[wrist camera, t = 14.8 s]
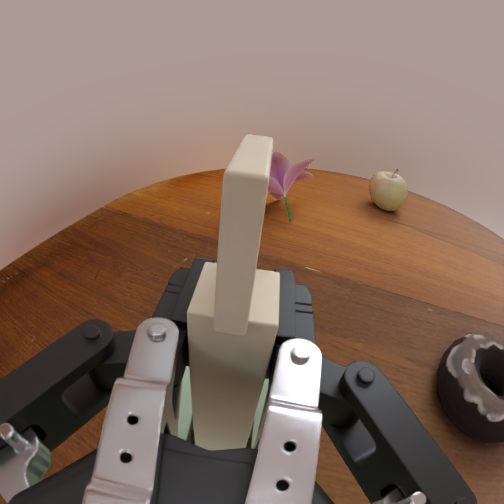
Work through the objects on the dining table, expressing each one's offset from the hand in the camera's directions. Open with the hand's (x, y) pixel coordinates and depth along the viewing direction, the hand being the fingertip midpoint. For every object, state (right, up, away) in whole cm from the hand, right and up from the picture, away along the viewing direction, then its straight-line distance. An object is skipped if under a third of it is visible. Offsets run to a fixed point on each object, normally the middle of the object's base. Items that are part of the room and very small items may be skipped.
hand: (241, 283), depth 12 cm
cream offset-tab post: (-1, -8, +2) cm, 9 cm away
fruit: (+25, +10, +43) cm, 51 cm away
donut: (+21, -12, +8) cm, 26 cm away
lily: (+4, +7, +35) cm, 36 cm away
